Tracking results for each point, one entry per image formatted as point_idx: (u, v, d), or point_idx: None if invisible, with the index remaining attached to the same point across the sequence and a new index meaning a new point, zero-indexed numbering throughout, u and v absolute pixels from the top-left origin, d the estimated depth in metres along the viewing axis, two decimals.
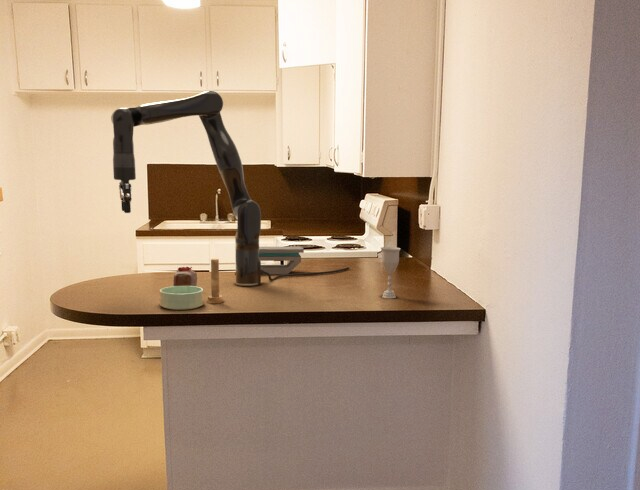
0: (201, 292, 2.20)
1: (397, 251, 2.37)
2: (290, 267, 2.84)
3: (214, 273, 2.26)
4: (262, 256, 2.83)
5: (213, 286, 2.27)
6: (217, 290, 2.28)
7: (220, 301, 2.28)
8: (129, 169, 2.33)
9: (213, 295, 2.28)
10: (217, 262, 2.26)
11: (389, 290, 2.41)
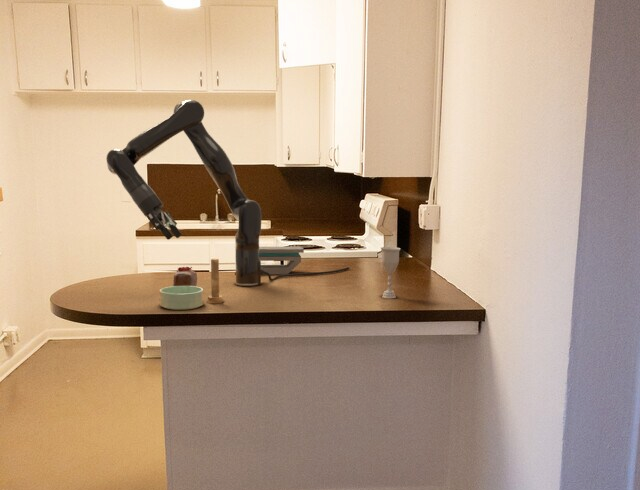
0: (201, 292, 2.20)
1: (397, 251, 2.37)
2: (290, 267, 2.84)
3: (214, 273, 2.26)
4: (262, 256, 2.83)
5: (213, 286, 2.27)
6: (217, 290, 2.28)
7: (220, 301, 2.28)
8: (147, 200, 2.25)
9: (213, 295, 2.28)
10: (217, 262, 2.26)
11: (389, 290, 2.41)
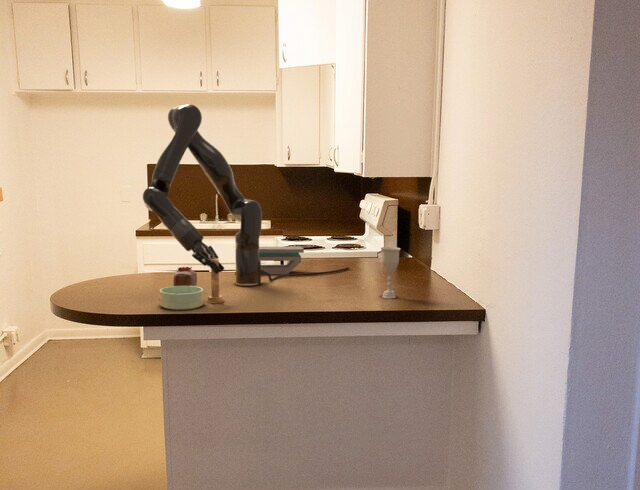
0: (201, 292, 2.20)
1: (397, 251, 2.37)
2: (290, 267, 2.84)
3: (214, 273, 2.26)
4: (262, 256, 2.83)
5: (213, 286, 2.27)
6: (217, 290, 2.28)
7: (220, 301, 2.28)
8: (187, 235, 2.23)
9: (213, 295, 2.28)
10: (217, 262, 2.26)
11: (389, 290, 2.41)
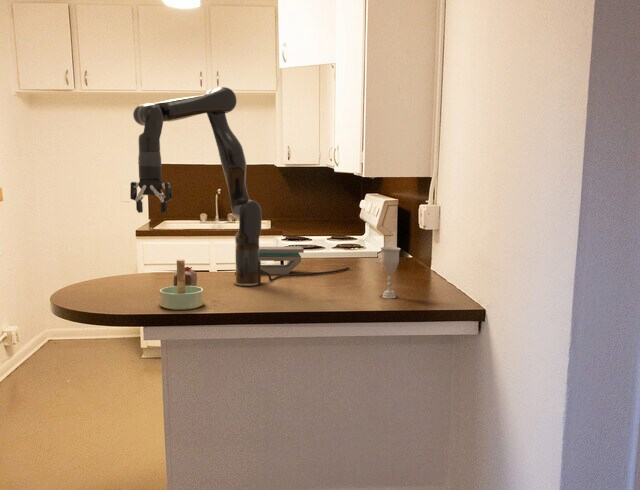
0: (201, 292, 2.20)
1: (397, 251, 2.37)
2: (290, 267, 2.84)
3: (180, 275, 2.19)
4: (262, 256, 2.83)
5: (179, 288, 2.20)
6: (183, 292, 2.21)
7: None
8: (161, 168, 2.25)
9: None
10: (183, 263, 2.19)
11: (389, 290, 2.41)
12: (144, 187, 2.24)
